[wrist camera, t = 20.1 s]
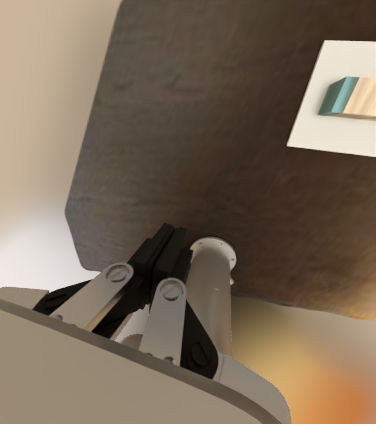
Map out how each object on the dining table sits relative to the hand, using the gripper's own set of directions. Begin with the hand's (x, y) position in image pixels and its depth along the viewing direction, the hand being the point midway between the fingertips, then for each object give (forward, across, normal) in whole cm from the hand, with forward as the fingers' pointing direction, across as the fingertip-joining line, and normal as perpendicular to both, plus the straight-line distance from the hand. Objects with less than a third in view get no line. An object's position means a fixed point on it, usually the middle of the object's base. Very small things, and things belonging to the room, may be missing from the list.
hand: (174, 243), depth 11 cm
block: (+24, -25, -15) cm, 38 cm away
